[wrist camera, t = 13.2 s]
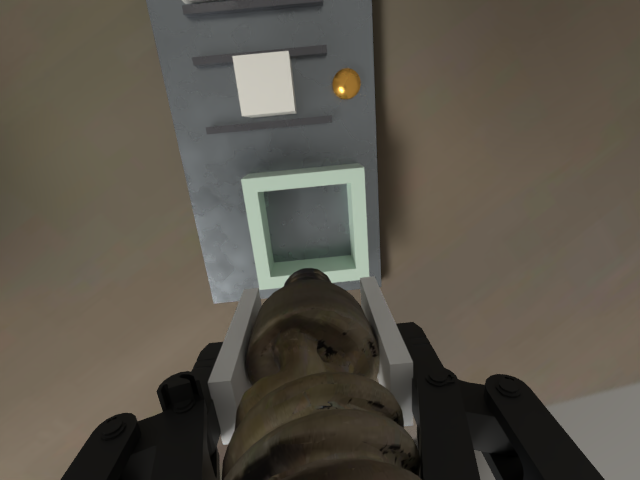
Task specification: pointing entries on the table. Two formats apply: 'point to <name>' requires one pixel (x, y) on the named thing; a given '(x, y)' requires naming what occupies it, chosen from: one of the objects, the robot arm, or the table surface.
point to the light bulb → (316, 393)
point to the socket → (257, 183)
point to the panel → (271, 127)
